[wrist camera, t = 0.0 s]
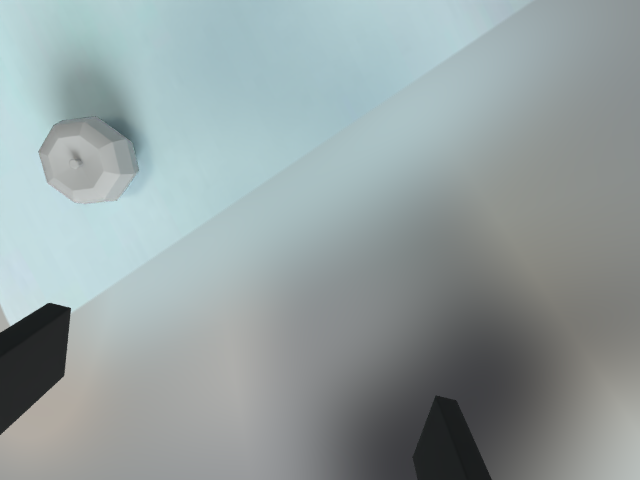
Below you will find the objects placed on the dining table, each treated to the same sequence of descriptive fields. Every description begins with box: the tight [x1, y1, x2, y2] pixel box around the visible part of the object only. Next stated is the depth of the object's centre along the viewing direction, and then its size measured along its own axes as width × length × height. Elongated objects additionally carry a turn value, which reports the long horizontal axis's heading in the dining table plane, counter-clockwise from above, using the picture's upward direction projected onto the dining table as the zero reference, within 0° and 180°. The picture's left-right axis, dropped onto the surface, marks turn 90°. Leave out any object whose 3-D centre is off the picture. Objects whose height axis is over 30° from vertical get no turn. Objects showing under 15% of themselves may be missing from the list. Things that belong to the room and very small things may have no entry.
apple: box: [38, 116, 139, 204], centre depth 38 cm, size 8×8×7 cm
